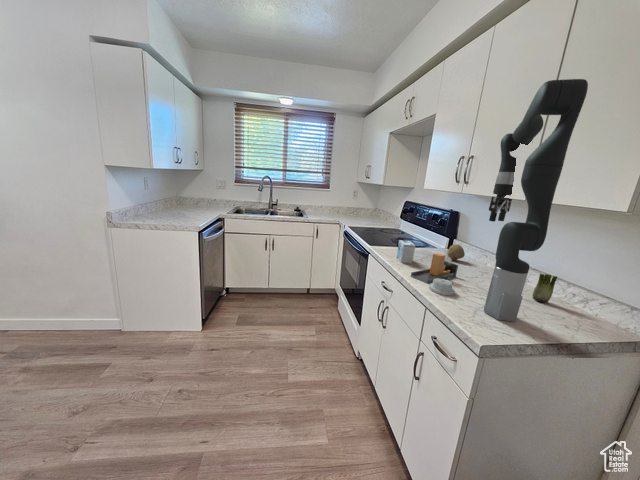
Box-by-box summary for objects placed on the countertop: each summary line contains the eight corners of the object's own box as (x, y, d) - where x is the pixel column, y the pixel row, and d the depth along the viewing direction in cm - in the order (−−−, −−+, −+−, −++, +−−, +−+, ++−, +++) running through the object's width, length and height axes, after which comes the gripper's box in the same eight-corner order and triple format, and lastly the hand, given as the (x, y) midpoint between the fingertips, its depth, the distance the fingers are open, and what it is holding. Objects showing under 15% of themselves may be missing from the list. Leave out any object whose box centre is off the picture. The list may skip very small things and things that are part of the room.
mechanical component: (423, 286, 112) (439, 296, 103) (425, 277, 111) (441, 286, 102) (442, 285, 115) (459, 295, 106) (444, 276, 114) (461, 285, 105)
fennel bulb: (549, 302, 107) (558, 275, 104) (548, 305, 103) (557, 277, 100) (531, 297, 110) (539, 270, 108) (530, 300, 107) (538, 273, 104)
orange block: (437, 270, 132) (441, 251, 130) (449, 274, 127) (453, 255, 125) (427, 272, 127) (430, 253, 125) (439, 276, 122) (443, 256, 120)
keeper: (438, 270, 136) (440, 259, 134) (455, 276, 128) (458, 265, 126) (430, 271, 132) (433, 260, 131) (448, 278, 124) (451, 266, 123)
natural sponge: (465, 261, 157) (468, 245, 155) (459, 263, 151) (462, 247, 149) (450, 257, 164) (453, 242, 161) (443, 259, 158) (447, 243, 156)
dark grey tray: (438, 270, 135) (439, 266, 135) (454, 276, 128) (455, 272, 128) (410, 276, 123) (411, 272, 122) (427, 283, 115) (428, 279, 115)
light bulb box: (395, 257, 153) (398, 239, 151) (407, 258, 153) (410, 240, 151) (400, 262, 143) (403, 244, 140) (412, 264, 143) (416, 245, 140)
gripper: (508, 183, 102) (498, 223, 106) (522, 185, 110) (513, 222, 114) (488, 181, 108) (479, 219, 112) (503, 184, 116) (494, 219, 120)
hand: (496, 221), depth 113 cm, fingers open, 8 cm apart
